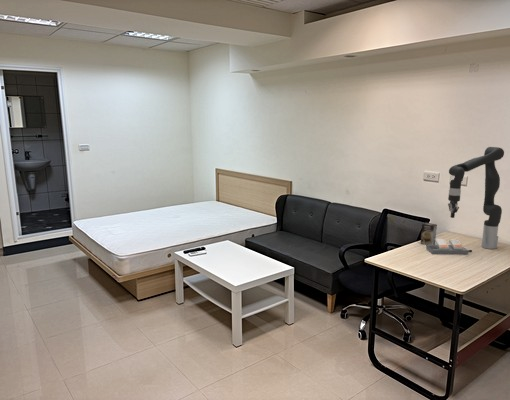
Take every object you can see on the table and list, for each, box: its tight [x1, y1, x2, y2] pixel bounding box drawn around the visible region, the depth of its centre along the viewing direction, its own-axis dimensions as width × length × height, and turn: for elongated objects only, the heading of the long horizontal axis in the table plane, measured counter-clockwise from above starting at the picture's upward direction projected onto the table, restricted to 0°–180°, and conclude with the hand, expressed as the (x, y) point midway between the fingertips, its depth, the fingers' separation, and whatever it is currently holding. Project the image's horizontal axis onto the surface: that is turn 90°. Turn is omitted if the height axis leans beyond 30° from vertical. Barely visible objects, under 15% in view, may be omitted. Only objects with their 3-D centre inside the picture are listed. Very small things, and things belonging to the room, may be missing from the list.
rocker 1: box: [435, 238, 449, 250], centre depth 282 cm, size 6×10×2 cm, turn 176°
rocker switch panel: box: [425, 244, 473, 256], centre depth 282 cm, size 30×12×4 cm, turn 86°
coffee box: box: [420, 222, 438, 246], centre depth 299 cm, size 9×6×16 cm
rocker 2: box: [448, 239, 464, 249], centre depth 281 cm, size 6×10×2 cm, turn 176°
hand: (452, 217), depth 280 cm, fingers closed
